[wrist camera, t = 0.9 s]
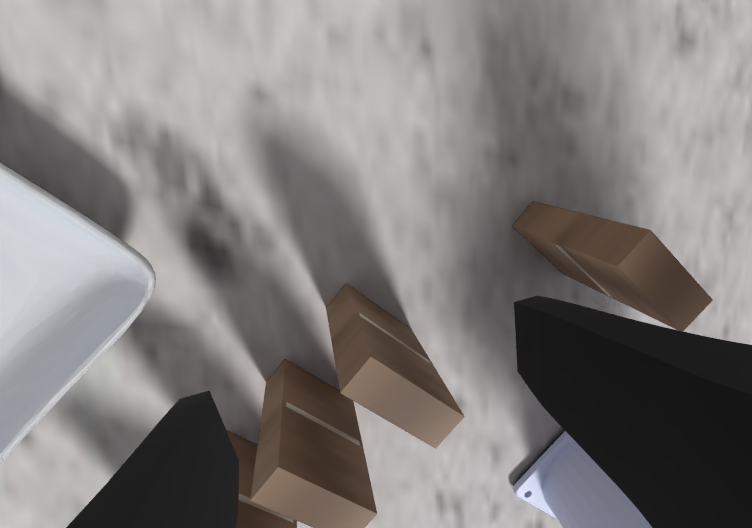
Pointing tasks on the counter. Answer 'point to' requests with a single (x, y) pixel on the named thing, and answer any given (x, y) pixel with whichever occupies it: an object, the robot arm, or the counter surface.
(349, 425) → the domino
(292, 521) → the domino
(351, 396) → the domino
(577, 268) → the domino
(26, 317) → the salad plate
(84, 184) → the counter surface
